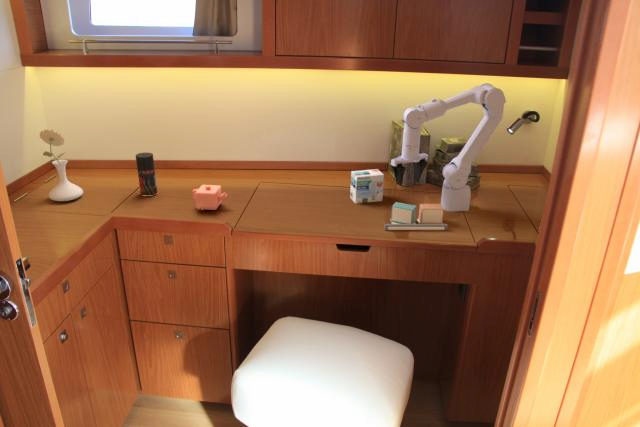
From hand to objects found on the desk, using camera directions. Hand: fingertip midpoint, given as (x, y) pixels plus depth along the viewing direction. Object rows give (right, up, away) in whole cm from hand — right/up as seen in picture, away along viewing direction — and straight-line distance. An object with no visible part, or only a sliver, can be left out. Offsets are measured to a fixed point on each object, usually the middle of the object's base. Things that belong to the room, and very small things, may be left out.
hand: (407, 182), depth 177 cm
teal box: (-3, -13, -7) cm, 15 cm away
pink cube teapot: (-68, -9, +3) cm, 69 cm away
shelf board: (0, -13, -5) cm, 14 cm away
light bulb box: (-13, -6, +11) cm, 18 cm away
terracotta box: (+6, -13, -7) cm, 16 cm away
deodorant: (-93, -4, +14) cm, 95 cm away
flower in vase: (-122, -5, +9) cm, 123 cm away
